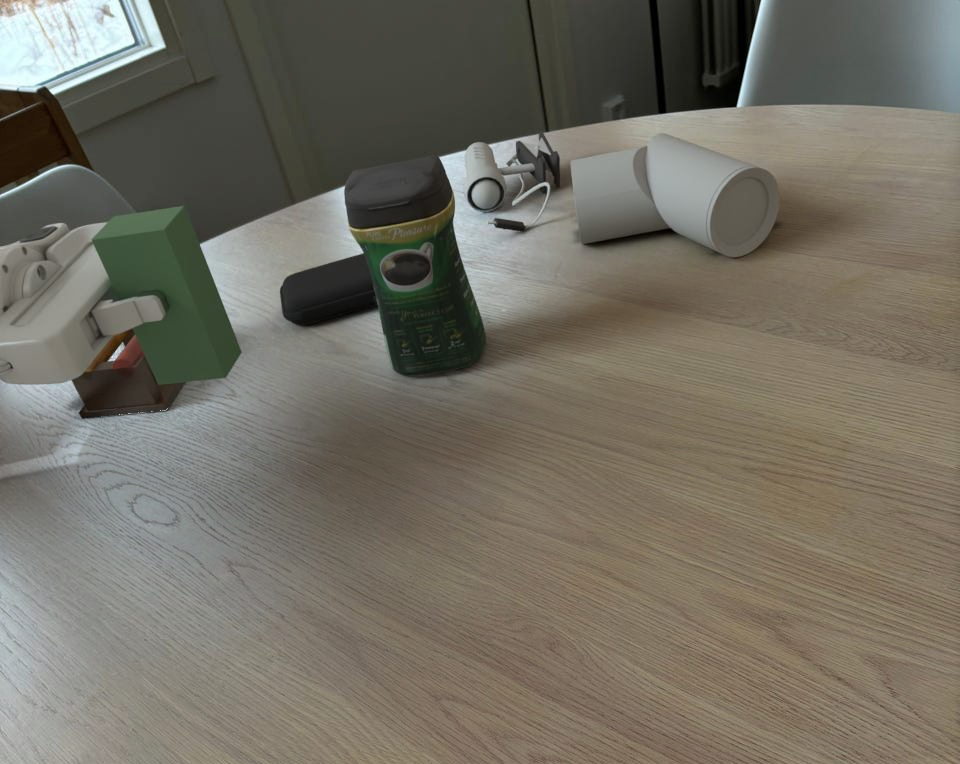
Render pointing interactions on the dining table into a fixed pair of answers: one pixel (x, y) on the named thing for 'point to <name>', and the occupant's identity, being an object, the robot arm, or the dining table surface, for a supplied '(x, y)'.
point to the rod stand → (122, 382)
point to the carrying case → (327, 291)
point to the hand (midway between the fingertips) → (177, 287)
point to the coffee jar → (415, 265)
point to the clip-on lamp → (488, 181)
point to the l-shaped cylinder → (675, 195)
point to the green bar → (170, 294)
